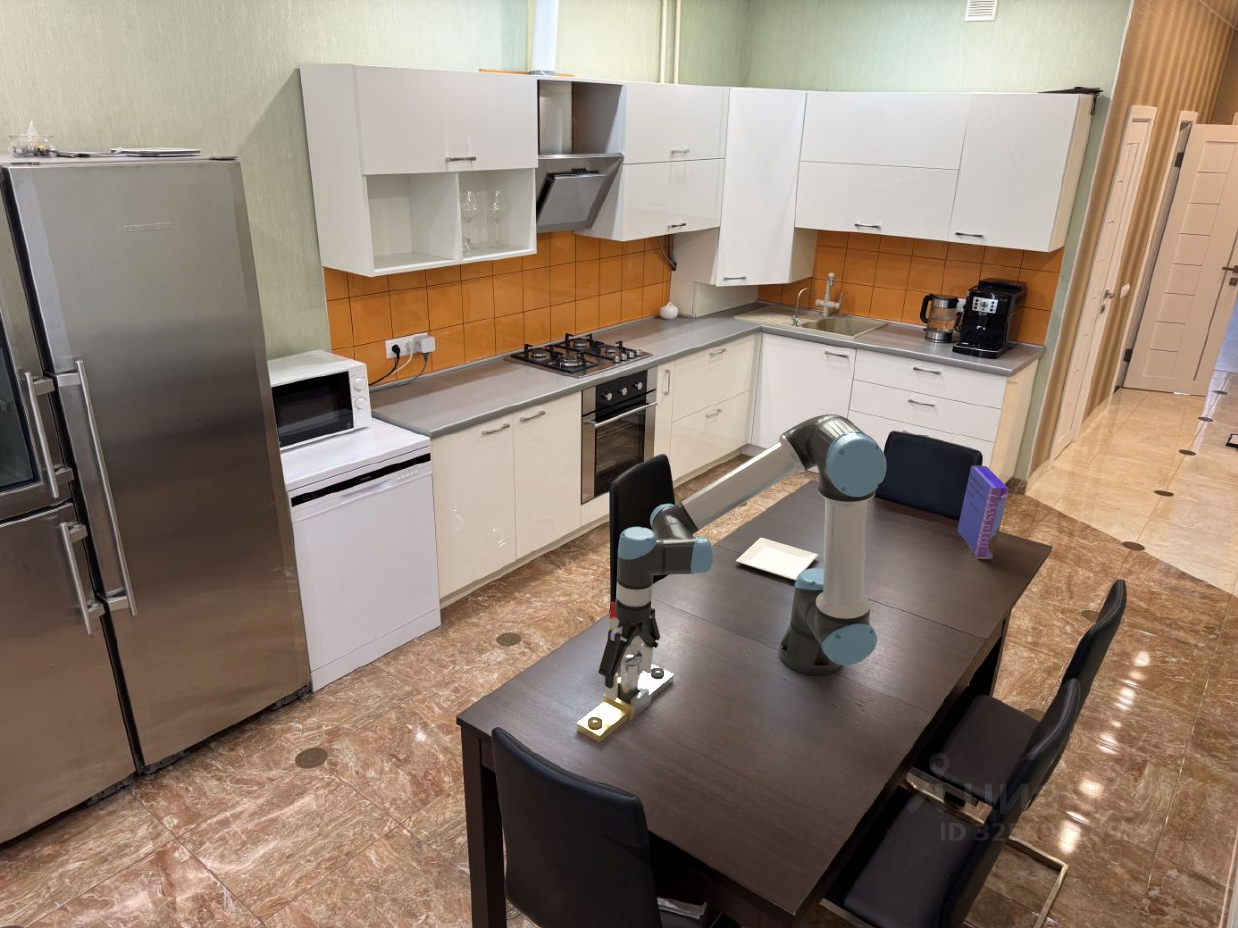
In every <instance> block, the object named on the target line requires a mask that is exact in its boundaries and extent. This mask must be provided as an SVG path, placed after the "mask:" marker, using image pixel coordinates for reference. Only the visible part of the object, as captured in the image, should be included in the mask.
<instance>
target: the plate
mask: <svg viewBox="0 0 1238 928" xmlns="http://www.w3.org/2000/svg"><path fill="white" fill-rule="evenodd" d="M818 556H819V554H818V553H814V552H812V551H809V550H805V549H801V548H799V547H795V546H791V545H788V544H785V543H782V542H778V541H774V540H772V539H768V538H765V537H759V539H757V540H756V541H755V542H754V543H753V544H752V545H751V546H750V547H749V548H748V549H747V550H745V551H744V553H743V554H741V555H740V556H739V557H738V558H737V559H735V562H736V563H737V564H741V565H744V566H747V567H750V568H753V569H756V570H759V571H762V572H765V573H768V574H773V575H775V576H778V577H781V578H785V579H788V580H792V581H795V582H796V580H797V576H798V574H799V573H801V572H802V571H804V570H807V569H808V567H809V566H810V565H811V564H812V563H813V562H814V560H815V559H816V558H817V557H818Z"/></svg>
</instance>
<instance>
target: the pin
mask: <svg viewBox="0 0 1238 928" xmlns="http://www.w3.org/2000/svg"><path fill="white" fill-rule="evenodd" d="M642 658H643V656H642V654H641V653H640V652H639V651H637V650H633V649H627V650H626V651H625V653H624V655H623V658H622V660H621V663H620V676H619V678H620V691H619V699H620V700H622V701H624V702H625V703H627V704H629V705H630V704H631V699H632V698H633V697H634V696H636V695H637V693H638V680H639V674H640V669H639V667H640V663H641V662H642Z"/></svg>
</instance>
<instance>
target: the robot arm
mask: <svg viewBox="0 0 1238 928" xmlns="http://www.w3.org/2000/svg"><path fill="white" fill-rule="evenodd" d="M814 467H816V468H817V471H818V472H817V476H818V477H817V492H818V494H819V495H820V496H821V497H822V498H823V499H825V501H824V539H823V541H824V542H823V543H824V544H823V546H824V547H823V568H817V567H816V568H815V567H813V568H806V569H805V570H804V571H802V572H801V573H799V574H798V576H797V579H796V580H795V582H794V591H793V600H792V606H791V615H790V623H789V626H788V627H787V630H786V631H785V633H784V634H783V636H782V638H781V639H780V642H779V646H778V647H779V648H778V656H779V658H780V660H781V661H782V662H783V663H784V665H786V666H787V667H788V668H790V669H792V670H794V671H796V672H799V673H802V674H805V675H811V676H825V675H830V674H833V673H834V672H837V671H838V670H839V669H840V667H841V666H852V665H856V664H858V663H861V662H862V661H864V660H866V658H867V657H869V656H871V654H873V653H874V651H875V649H876V646H877V644H878V635H877V634H876V630H875V628H874V627H873V626H872V625H871V623H870V622H871V621H870V617H871V616H870V615H871V601H870V600H869V598H868V597H867V596H866V595H865V594H864V590H865V588H864V587H865V569H866V568H865V566H866V548H867V547H866V546H867V545H866V543H867V524H868V523H867V519H868V502H869V501H870V500H871V499H873V498H874V497H875V495H876V491H877V489H878V488H879V484H881V483H883V481H884V479H885V476H886V473H887V458H886V456H885V453H884V451H883V449H882V448H881V446H880V445H879V444H878V442H877V441H876V440H875V439H874V438H873V437H872V436H871V435H869V434H867V433H865V432H864V431H863V430H862V429H860V428H859V427H858V426H856V425H855V424H854V423H853V421H851V420H850V419H848V418H846V417H845V416H843V415H839V414H835V413H833V414H832V413H829V414H827V413H826V414H821V415H818V416H813V417H812V418H808V419H807V420H804V421H802V422H799V423H798V424H796V425H795V426H793V427H790V428H789V429H787V430H786V431H784V432H783V433H781V434H780V435H779V438H778V441H777V442H775V443H774V444H772V445H769V447H768V448H766V449H764V450H762V451H761V452H759V453H757V454H756V455H754V456H752V457H751V458H749V459H748V460H746V461H744V462H743V463H742V464H739V465H738V466H737V467H735V468H734V469H731V470H730V471H729V472H727V473H726V474H723V475H722V476H720V477H719V478H717V479H715V480H714V481H713V482H710V483H709V484H707V485H706V486H704V487H703V488H701V489H699V490H698V491H696V492H695V493H693V494H691V495H689V496H688V497H686V498H684V500H681V501H679V502H678V503H677V504H672V503H664V504H660V505H659V506H657V507H655V508H654V510H653V511H652V513H650V518H649V522H650V526H651V529H649V528H647V527H641V526H632V527H628V528H626V529H624V530H623V531H622V532H621V533H620V535H619V541H618V548H617V568H616V569H617V570H616V571H617V573H616V574H617V576H616V594H615V595H616V597H615V602H616V604H615V614H616V616H617V618H618V620H619V624H618V627H617V629H616V630H612V629H610V630H608V633H607V640H606V645H605V648H604V651H603V653H602V654H603V655H602V657H601V661H600V665H599V668H598V671H597V672H598V673H597V674H600V675H602V676H603V677H604V686H605V687H604V695H605V696H606V697H608V698H610V699H612V700H614V701H616V700H617V690H618V678H619V673H618V669H619V667H620V666H621V660H622V658H623V655H624V653H625V651H626V648H627V647H629V646H630V644H631V642H632V640H633V639H634V638H635V637H637V636H638V635H639V636H640V638H641V639H642V641H643V642H644V643H645V644H641V652H640V653H641V654H642V656H643V658H642V662H641V663H640V667H639V671H642V672H643V671H644V672H646V673H648V674H650V673H651V667H652V663H653V654H654V648H655V649H657V648H658V647H659V640H661V639H660V638H661V635H660V630H659V625H658V622H657V618H656V608H653V607H652V598H653V588H654V587H653V586H654V583H653V582H654V576H663V575H664V576H665V575H695V574H703V573H708V572H710V570H711V569H712V565H713V560H714V559H713V558H714V555H713V554H714V552H713V546H712V542H711V541H710V539H709V538H708V537H705V536H697V535H696V536H694V534H696V533H697V532H698V531H701V530H703V529H704V528H705V527H707V526H709V525H711V524H712V523H714V522H715V521H717V520H718V519H721V518H722V517H724V516H725V515H727V514H728V513H730V512H732V511H733V510H735V509H737V508H739V507H740V506H742V505H744V504H745V503H747V502H749V500H751V499H753V498H755V497H756V496H758V495H760V494H761V493H763V492H765V491H766V490H768V489H769V488H771V487H773V486H775V485H776V484H778V483H780V482H781V481H783V480H784V479H786V478H788V477H789V476H791V475H793V474H794V473H795V472H800V473H801V472H802V473H805V472H806V471H808V470H810V469H811V468H814ZM621 636H622V637H621ZM622 638H624V639H626V640H627V641H626V642H625V641H623V640H621V639H622ZM657 641H658V642H657Z"/></svg>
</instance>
